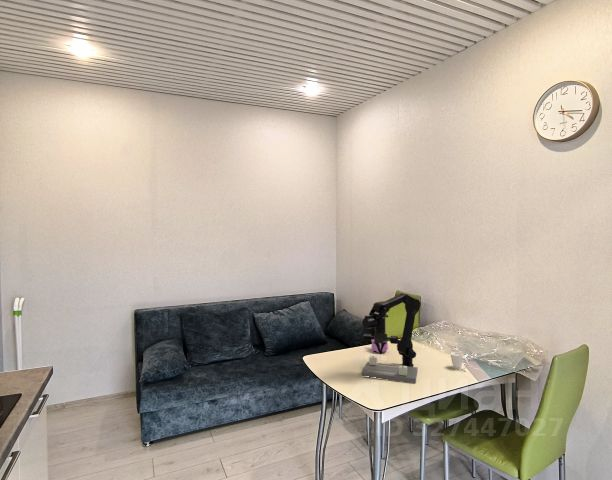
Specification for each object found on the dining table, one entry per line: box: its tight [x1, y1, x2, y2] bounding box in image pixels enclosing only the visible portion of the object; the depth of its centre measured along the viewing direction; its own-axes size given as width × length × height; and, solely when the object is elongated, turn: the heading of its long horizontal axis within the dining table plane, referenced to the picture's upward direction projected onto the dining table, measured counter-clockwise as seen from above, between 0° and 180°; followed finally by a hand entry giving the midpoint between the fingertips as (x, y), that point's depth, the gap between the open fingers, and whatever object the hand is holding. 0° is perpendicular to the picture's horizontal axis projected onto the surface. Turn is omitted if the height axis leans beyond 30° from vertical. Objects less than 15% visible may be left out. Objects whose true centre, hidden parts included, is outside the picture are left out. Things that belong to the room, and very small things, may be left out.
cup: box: [450, 351, 469, 371], centre depth 207 cm, size 7×10×8 cm
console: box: [361, 361, 419, 384], centre depth 201 cm, size 16×28×3 cm, turn 70°
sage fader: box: [399, 364, 407, 376], centre depth 194 cm, size 3×4×4 cm
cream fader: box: [368, 355, 378, 365], centre depth 209 cm, size 3×4×4 cm
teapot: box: [370, 340, 389, 354], centre depth 239 cm, size 10×15×9 cm
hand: (380, 354), depth 201 cm, fingers closed
